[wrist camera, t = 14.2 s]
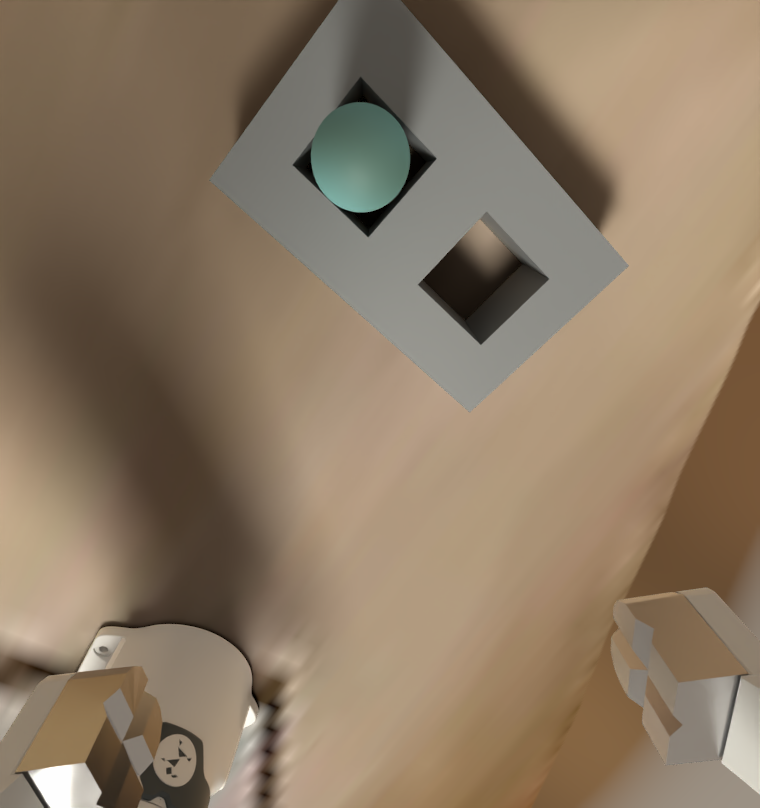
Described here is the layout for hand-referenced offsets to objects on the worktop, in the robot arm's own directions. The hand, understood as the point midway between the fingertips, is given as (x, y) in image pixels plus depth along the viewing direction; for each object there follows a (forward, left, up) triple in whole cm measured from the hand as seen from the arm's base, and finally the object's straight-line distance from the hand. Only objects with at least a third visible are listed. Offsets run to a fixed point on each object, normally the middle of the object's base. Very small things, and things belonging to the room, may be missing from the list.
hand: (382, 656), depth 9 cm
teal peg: (+6, +6, -30) cm, 32 cm away
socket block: (+6, +1, -30) cm, 31 cm away
